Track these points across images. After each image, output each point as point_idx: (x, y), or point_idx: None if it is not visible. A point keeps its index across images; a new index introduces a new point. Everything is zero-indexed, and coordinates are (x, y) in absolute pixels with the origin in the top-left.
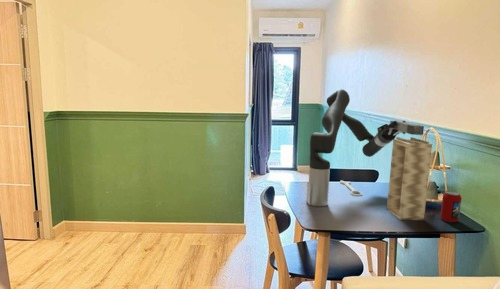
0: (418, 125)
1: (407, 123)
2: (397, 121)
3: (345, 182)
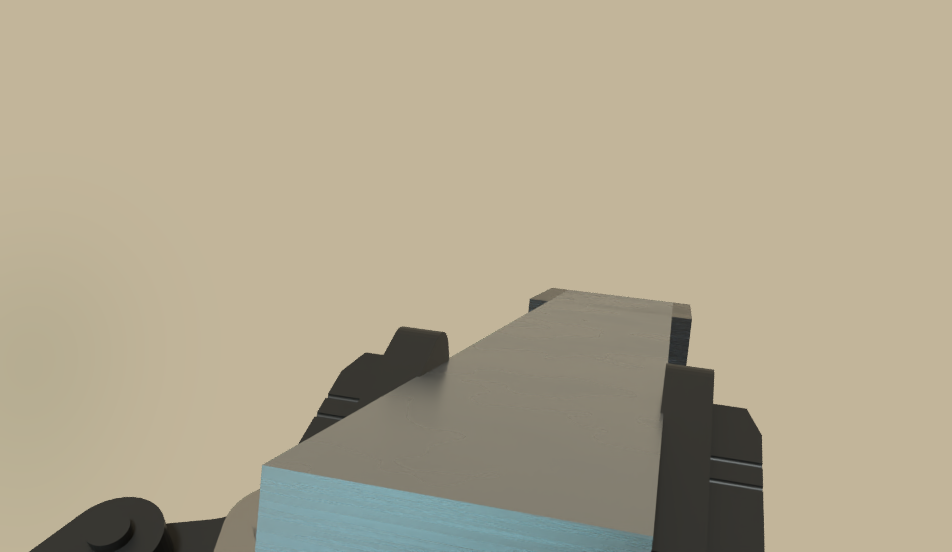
0: (566, 297)
1: (570, 329)
2: (539, 408)
3: None
